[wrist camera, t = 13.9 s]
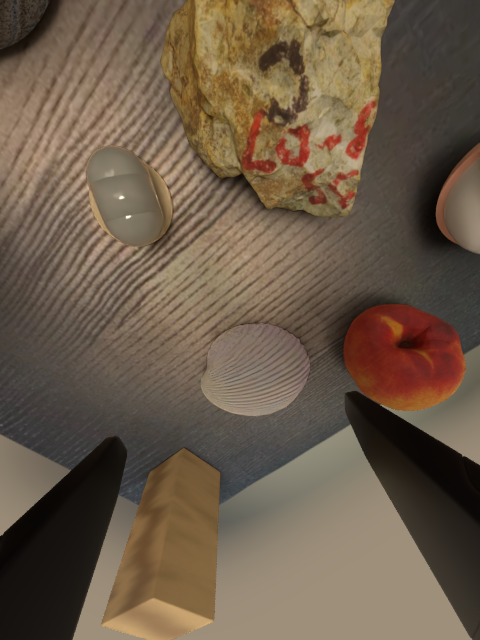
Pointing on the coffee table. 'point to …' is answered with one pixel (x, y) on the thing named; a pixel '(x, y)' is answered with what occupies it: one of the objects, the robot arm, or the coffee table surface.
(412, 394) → the fruit
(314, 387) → the coffee table surface
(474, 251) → the toy ball
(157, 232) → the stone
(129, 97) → the coffee table surface
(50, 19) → the coffee table surface
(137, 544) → the stand
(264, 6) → the rock
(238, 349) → the seashell
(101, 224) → the coaster
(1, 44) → the vase
